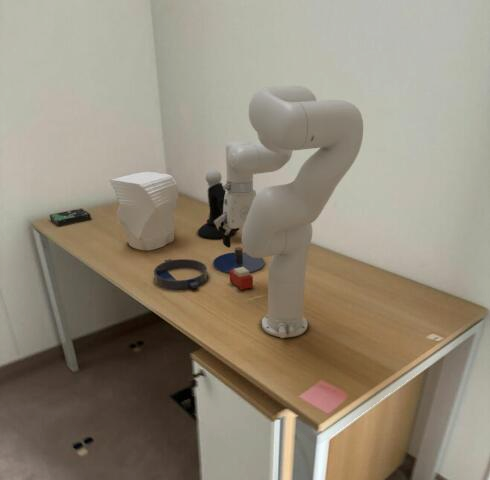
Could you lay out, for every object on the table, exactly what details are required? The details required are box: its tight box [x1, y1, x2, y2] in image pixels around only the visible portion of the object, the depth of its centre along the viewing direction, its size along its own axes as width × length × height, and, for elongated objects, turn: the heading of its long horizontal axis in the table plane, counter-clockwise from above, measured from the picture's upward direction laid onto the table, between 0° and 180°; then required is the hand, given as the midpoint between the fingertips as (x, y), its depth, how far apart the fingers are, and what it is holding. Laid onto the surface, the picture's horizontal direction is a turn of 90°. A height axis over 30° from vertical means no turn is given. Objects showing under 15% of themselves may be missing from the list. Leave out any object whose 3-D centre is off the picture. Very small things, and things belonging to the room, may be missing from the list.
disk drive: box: [49, 208, 92, 227], centre depth 205 cm, size 10×3×15 cm
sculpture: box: [197, 169, 240, 240], centre depth 182 cm, size 15×24×25 cm, turn 34°
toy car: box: [229, 267, 254, 291], centre depth 148 cm, size 8×4×6 cm, turn 30°
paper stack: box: [109, 171, 179, 252], centre depth 176 cm, size 21×27×26 cm
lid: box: [212, 246, 266, 275], centre depth 162 cm, size 18×18×6 cm
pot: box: [153, 258, 208, 291], centre depth 153 cm, size 17×23×4 cm
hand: (241, 243), depth 142 cm, fingers open, 9 cm apart
